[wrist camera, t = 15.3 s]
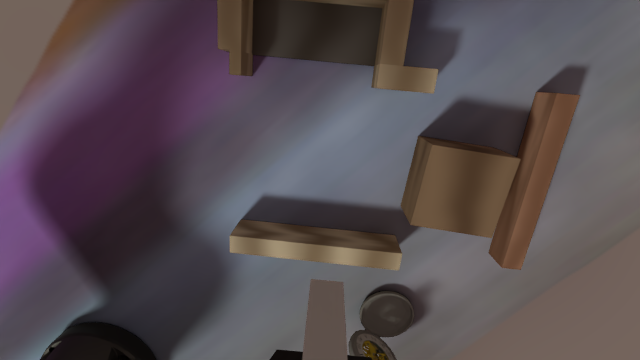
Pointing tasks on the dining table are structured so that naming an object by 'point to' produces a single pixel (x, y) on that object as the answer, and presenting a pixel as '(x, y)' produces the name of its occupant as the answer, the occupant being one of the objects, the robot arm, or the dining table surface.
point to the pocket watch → (381, 324)
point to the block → (457, 186)
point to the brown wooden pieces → (389, 73)
